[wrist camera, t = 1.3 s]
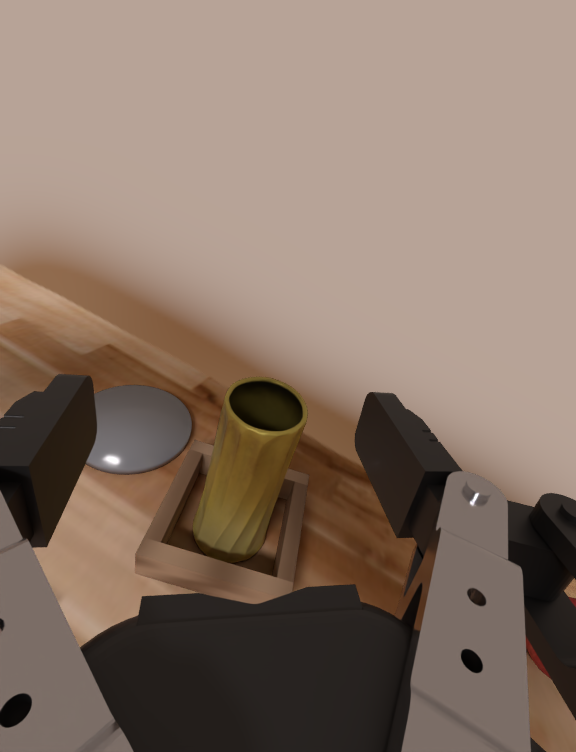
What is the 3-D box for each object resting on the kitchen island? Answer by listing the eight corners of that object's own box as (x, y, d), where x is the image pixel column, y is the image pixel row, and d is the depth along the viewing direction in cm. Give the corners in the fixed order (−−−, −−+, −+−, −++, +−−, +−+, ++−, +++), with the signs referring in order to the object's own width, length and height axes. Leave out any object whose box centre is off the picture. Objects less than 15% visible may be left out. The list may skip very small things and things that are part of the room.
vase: (177, 519, 31) (197, 388, 22) (236, 484, 35) (271, 362, 26) (221, 581, 28) (262, 457, 19) (280, 535, 32) (334, 416, 23)
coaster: (39, 452, 32) (38, 446, 32) (109, 379, 41) (109, 373, 40) (162, 489, 32) (163, 484, 32) (206, 409, 41) (206, 403, 41)
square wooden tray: (135, 573, 27) (135, 553, 25) (191, 459, 35) (194, 439, 34) (280, 616, 27) (290, 600, 25) (300, 493, 36) (309, 474, 34)
